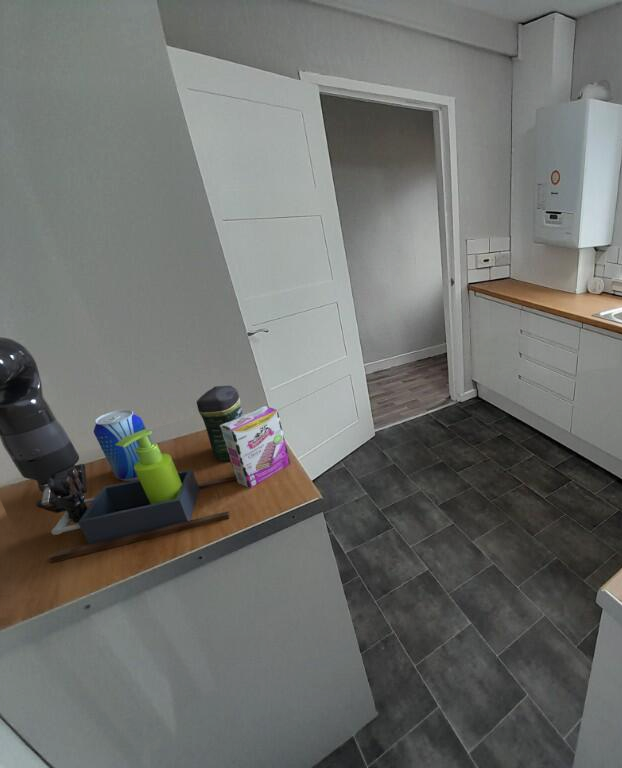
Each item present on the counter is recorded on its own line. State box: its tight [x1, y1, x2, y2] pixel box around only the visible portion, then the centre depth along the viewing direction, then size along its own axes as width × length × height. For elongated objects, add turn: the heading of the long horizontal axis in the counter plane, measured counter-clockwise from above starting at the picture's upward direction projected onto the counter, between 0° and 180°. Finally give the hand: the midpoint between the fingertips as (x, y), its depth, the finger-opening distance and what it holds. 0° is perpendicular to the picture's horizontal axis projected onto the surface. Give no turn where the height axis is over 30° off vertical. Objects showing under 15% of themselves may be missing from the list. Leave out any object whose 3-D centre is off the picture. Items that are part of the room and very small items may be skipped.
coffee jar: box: [196, 385, 244, 463], centre depth 105 cm, size 10×8×19 cm
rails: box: [48, 475, 237, 563], centre depth 87 cm, size 28×15×1 cm, turn 115°
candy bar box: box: [220, 405, 291, 490], centre depth 97 cm, size 11×5×16 cm, turn 154°
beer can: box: [93, 409, 153, 482], centre depth 97 cm, size 8×8×16 cm
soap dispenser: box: [115, 429, 182, 505], centre depth 84 cm, size 6×7×20 cm
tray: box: [50, 468, 201, 545], centre depth 84 cm, size 20×12×6 cm, turn 115°
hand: (83, 519), depth 82 cm, fingers closed
